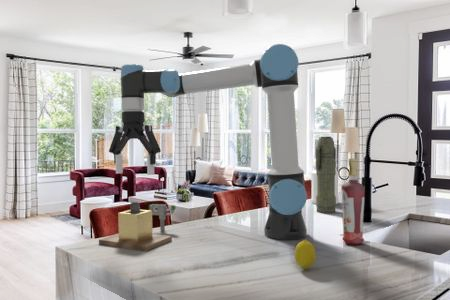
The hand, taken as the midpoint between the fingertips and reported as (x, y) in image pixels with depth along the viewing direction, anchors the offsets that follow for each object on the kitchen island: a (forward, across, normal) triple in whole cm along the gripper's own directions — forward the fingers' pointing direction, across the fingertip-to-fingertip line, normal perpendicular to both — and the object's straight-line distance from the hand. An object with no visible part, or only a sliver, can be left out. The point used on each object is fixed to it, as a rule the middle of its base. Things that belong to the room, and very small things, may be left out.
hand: (134, 173), depth 138 cm
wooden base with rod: (+23, 0, 0) cm, 23 cm away
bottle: (+24, -40, -104) cm, 114 cm away
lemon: (+24, -60, +3) cm, 64 cm away
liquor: (+24, -67, -29) cm, 77 cm away
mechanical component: (+24, +2, -18) cm, 30 cm away
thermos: (+24, -46, -81) cm, 96 cm away
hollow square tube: (+22, 0, 0) cm, 22 cm away
